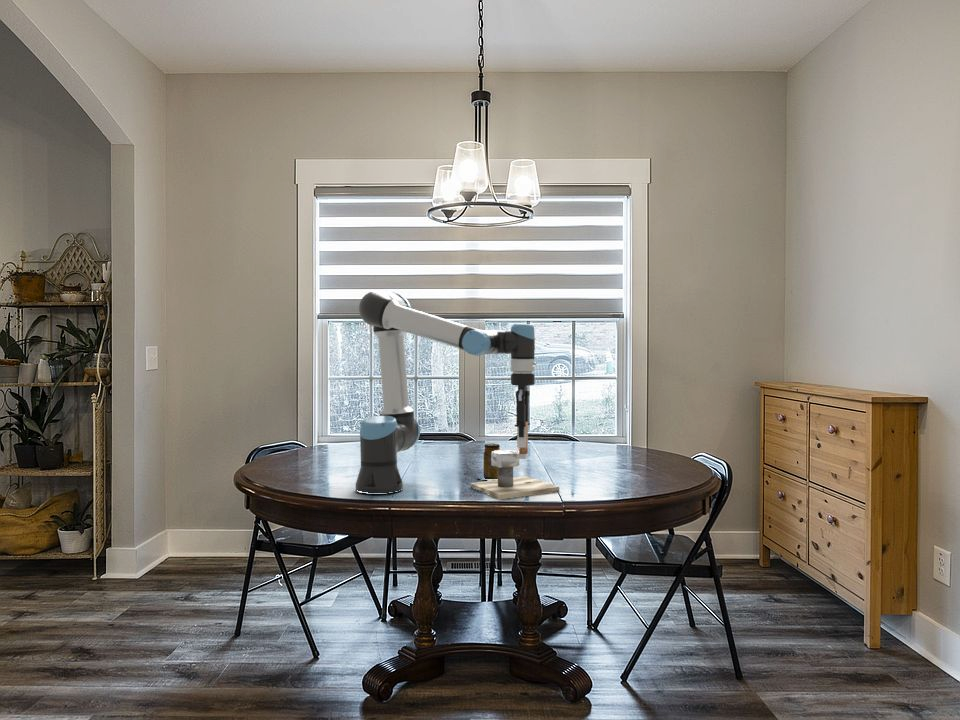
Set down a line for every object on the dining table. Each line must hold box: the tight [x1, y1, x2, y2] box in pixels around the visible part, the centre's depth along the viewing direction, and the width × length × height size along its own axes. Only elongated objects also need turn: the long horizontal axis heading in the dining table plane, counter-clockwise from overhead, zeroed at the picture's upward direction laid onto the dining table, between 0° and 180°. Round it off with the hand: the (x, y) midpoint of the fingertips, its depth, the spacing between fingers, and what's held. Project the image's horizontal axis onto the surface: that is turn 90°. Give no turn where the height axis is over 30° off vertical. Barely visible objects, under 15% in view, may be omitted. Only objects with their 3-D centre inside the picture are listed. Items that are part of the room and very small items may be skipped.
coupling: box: [491, 421, 529, 468], centre depth 218 cm, size 12×10×14 cm
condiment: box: [482, 443, 501, 479], centre depth 237 cm, size 7×8×12 cm
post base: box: [469, 467, 560, 501], centre depth 220 cm, size 19×22×8 cm
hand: (522, 446), depth 217 cm, fingers open, 3 cm apart
